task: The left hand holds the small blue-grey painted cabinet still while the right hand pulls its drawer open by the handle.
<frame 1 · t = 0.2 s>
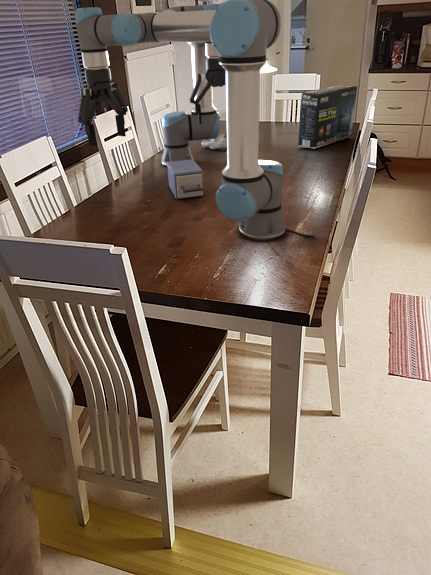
left hand: (218, 122, 167), 28 cm above the table, tool pointing down, fingers open, 13 cm apart
right hand: (108, 140, 148), 28 cm above the table, tool pointing down, fingers open, 13 cm apart
fossil: (217, 147, 245), on the table
drawer: (187, 182, 180), point 5 cm above the table, slide at 0.6 cm
router box: (325, 143, 245), on the table
handgun: (250, 174, 203), on the table
cabinet: (185, 190, 187), on the table
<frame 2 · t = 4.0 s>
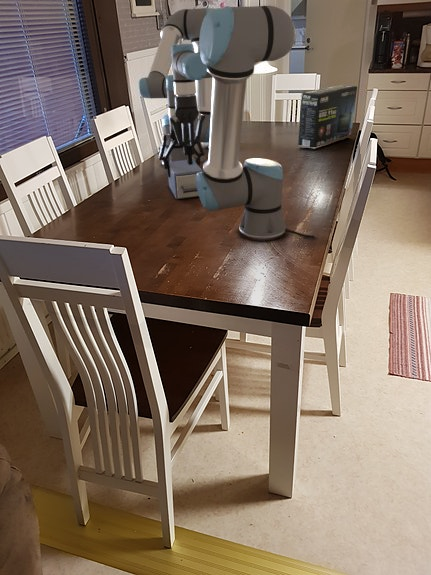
left hand: (183, 174, 188), 5 cm above the table, tool pointing down, fingers closed on cabinet, 11 cm apart
right hand: (190, 163, 169), 15 cm above the table, tool pointing down, fingers closed
cabinet: (185, 190, 187), on the table, touching left hand
everything else where it was.
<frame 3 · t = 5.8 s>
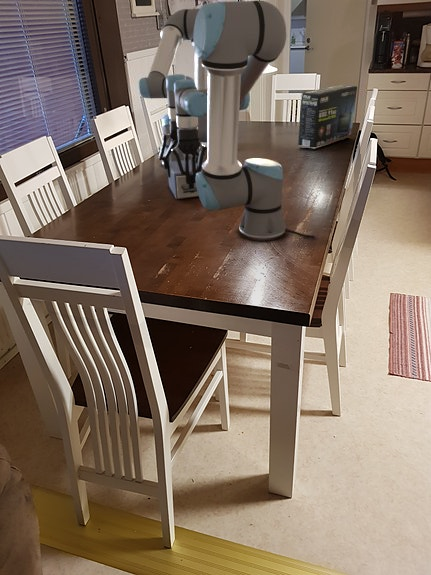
left hand: (183, 174, 188), 5 cm above the table, tool pointing down, fingers closed on cabinet, 11 cm apart
right hand: (191, 191, 174), 4 cm above the table, tool pointing down, fingers closed
drawer: (187, 182, 180), point 5 cm above the table, slide at 0.6 cm, touching right hand
cabinet: (185, 190, 187), on the table, touching left hand
everything else where it was.
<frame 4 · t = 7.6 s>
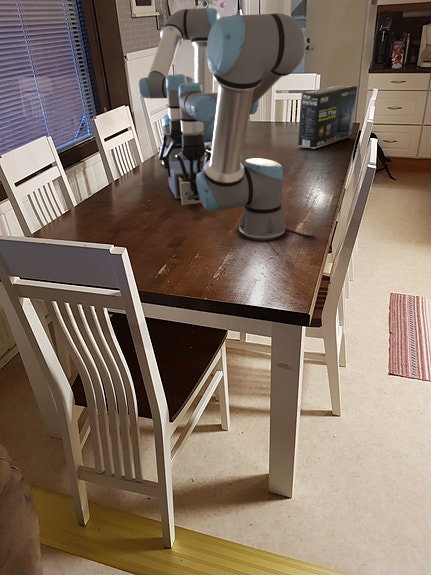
left hand: (183, 175, 187), 6 cm above the table, tool pointing down, fingers closed on cabinet, 11 cm apart
right hand: (196, 199, 167), 4 cm above the table, tool pointing down, fingers closed
drawer: (191, 188, 173), point 5 cm above the table, slide at 8.7 cm, touching right hand
cabinet: (185, 190, 187), on the table, touching left hand
everything else where it was.
when the left hand's fingers open (6 cm above the table, at t = 9.5 s): cabinet stays where it is, on the table.
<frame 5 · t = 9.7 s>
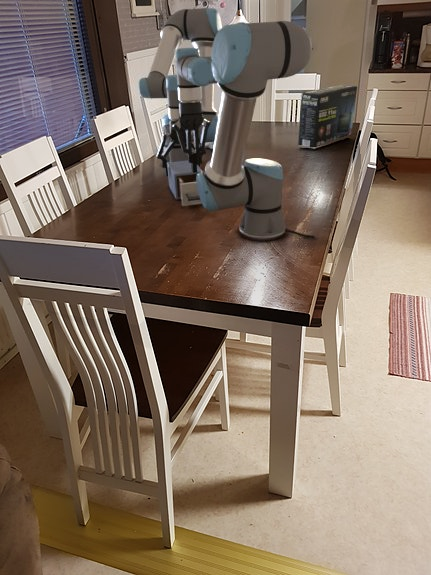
left hand: (182, 173, 187), 6 cm above the table, tool pointing down, fingers open, 13 cm apart
right hand: (194, 171, 163), 14 cm above the table, tool pointing down, fingers closed
drawer: (192, 189, 173), point 5 cm above the table, slide at 9.0 cm
cabinet: (186, 191, 187), on the table
everything else where it was.
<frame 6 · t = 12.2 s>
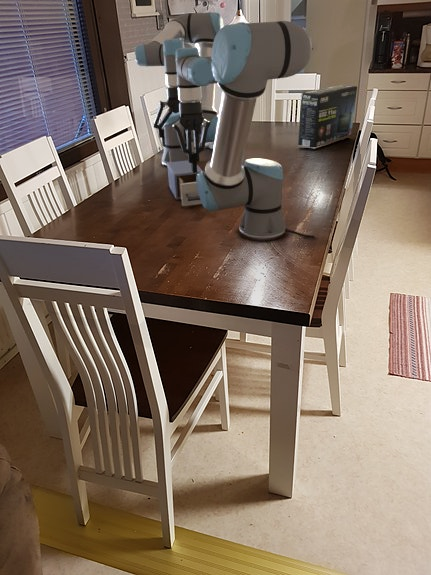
left hand: (180, 144, 181), 18 cm above the table, tool pointing down, fingers open, 13 cm apart
right hand: (194, 171, 163), 14 cm above the table, tool pointing down, fingers closed
nothing on the table moved.
at the end: drawer slide at 9.0 cm; cabinet tilted 0°; cabinet never tilted more than 3° during the clip; cabinet moved 0.7 cm from its start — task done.
